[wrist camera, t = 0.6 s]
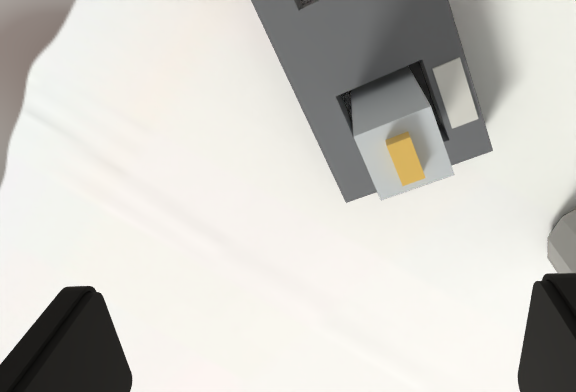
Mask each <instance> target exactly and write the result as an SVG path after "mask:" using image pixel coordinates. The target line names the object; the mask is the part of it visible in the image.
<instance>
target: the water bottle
mask: <svg viewBox="0 0 576 392" xmlns="http://www.w3.org/2000/svg"><path fill="white" fill-rule="evenodd" d="M547 258H548V259H549V261H550V262H551V264H552V265H553V267H554V268H555V270H556V271H557V273H576V209H575V210H573V211H571V212H569V213H568V214H566V215H564V216H563V217H562V218H561V219H560V220H559V222H558V223H557V225H556V226H555V227H554V229H553V230H552V232H551V233H550V234H549V236H548V256H547Z"/></svg>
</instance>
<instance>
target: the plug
mask: <svg viewBox="0 0 576 392" xmlns="http://www.w3.org/2000/svg"><path fill="white" fill-rule="evenodd" d="M351 104H352V121H353V137H354V139H355V142H356V144H357V146H358V149H359V151H360V153H361V155H362V158H363V160H364V162H365V165H366V167H367V169H368V172H369V174H370V176H371V179H372V181H373V183H374V186H375V188H376V190H377V193H378V195H379V197H380V200H384V199H387V198H389V197H392V196H395V195H398V194H401V193H404V192H407V191H410V190H412V189H415V188H418V187H421V186H424V185H427V184H430V183H433V182H435V181H438V180H441V179H444V178H447V177H450V176H453V175H454V172H453V169H452V166H451V163H450V160H449V157H448V154H447V151H446V148H445V146H444V143H443V140H442V137H441V134H440V131H439V128H438V125H437V122H436V120H435V117H434V114H433V111H432V108H431V105H430V104H429V102H428V100H427V98H426V97H425V95H424V93H423V91H422V90H421V88H420V86H419V84H418V83H417V81H416V79H415V77H414V76H413V74H412V72H411V70H410V68H409V67H408V66H406V67H403V68H401V69H399V70H396V71H394V72H392V73H389V74H387V75H385V76H382V77H380V78H378V79H375V80H373V81H371V82H368V83H366V84H364V85H361V86H359V87H357V88H354V89H352V90H351Z"/></svg>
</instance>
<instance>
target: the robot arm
mask: <svg viewBox="0 0 576 392" xmlns="http://www.w3.org/2000/svg"><path fill="white" fill-rule="evenodd" d="M518 385H519V389H520V392H576V273H554V274H545V275H544V277H543V279H542V281H536V282H535V283H534V285H533V290H532V296H531V301H530V307H529V313H528V319H527V324H526V330H525V336H524V341H523V347H522V353H521V359H520V364H519V370H518ZM131 386H132V374H131V371H130V368H129V365H128V363H127V360H126V357H125V355H124V352H123V349H122V346H121V344H120V341H119V338H118V336H117V333H116V330H115V328H114V325H113V322H112V319H111V317H110V314H109V311H108V309H107V306H106V303H105V301H104V298H103V296H102V294H101V293H99V292H96V290H95V289H94V288H93V287H91V286H75V287H65V288H63V289H62V290H61V291H60V292H59V294H58V295H57V296H56V297H55V299H54V300H53V301H52V302H51V303H50V305H49V306H48V307H47V308H46V310H45V311H44V312H43V313H42V314H41V316H40V317H39V318H38V319H37V320H36V322H35V323H34V324H33V325H32V327H31V328H30V329H29V330H28V331H27V333H26V334H25V335H24V336H23V338H22V339H21V340H20V341H19V342H18V344H17V345H16V346H15V347H14V349H13V350H12V351H11V352H10V353H9V355H8V356H7V357H6V358H5V360H4V361H3V362H2V363H1V364H0V392H130V390H131Z"/></svg>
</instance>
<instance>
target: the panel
mask: <svg viewBox="0 0 576 392" xmlns="http://www.w3.org/2000/svg"><path fill="white" fill-rule="evenodd" d="M251 1H252V3H253V5H254V7H255V10H256V12H257V14H258V16H259V18H260V20H261V22H262V25H263V27H264V29H265V31H266V33H267V35H268V37H269V39H270V42H271V44H272V46H273V48H274V50H275V52H276V54H277V57H278V59H279V61H280V63H281V65H282V67H283V69H284V71H285V74H286V76H287V78H288V80H289V82H290V84H291V86H292V89H293V91H294V93H295V95H296V97H297V99H298V101H299V103H300V106H301V108H302V110H303V112H304V114H305V116H306V118H307V121H308V123H309V125H310V127H311V129H312V131H313V133H314V135H315V138H316V140H317V142H318V144H319V146H320V148H321V150H322V153H323V155H324V157H325V159H326V161H327V163H328V165H329V167H330V170H331V172H332V174H333V176H334V178H335V180H336V182H337V185H338V187H339V189H340V191H341V193H342V195H343V197H344V199H345V202H346V203H347V202H350V201H353V200H356V199H358V198H361V197H364V196H367V195H370V194H373V193H375V192H377V190H376V188H375V186H374V183H373V181H372V179H371V176H370V174H369V172H368V169H367V167H366V165H365V162H364V160H363V158H362V155H361V153H360V151H359V149H358V146H357V144H356V142H355V139H354V137H353V123H352V120H351V118H350V116H349V113H348V111H347V108H346V106H345V104H344V101H343V99H342V97H341V94H343V93H345V92H347V91H350V90H352V89H354V88H357V87H359V86H361V85H364V84H366V83H368V82H371V81H373V80H375V79H378V78H380V77H382V76H385V75H387V74H389V73H392V72H394V71H396V70H399V69H401V68H403V67H406V66H408V65H410V64H413V63H415V62H417V61H419V62H420V65H421V68H422V71H423V74H424V77H425V80H426V83H427V86H428V89H429V92H430V95H431V97H432V100H433V103H434V106H435V109H436V112H437V115H438V118H439V121H440V125H438V128H439V131H440V134H441V137H442V140H443V143H444V146H445V148H446V151H447V154H448V157H449V160H450V163H451V165H454V164H457V163H460V162H463V161H465V160H468V159H471V158H474V157H477V156H480V155H482V154H485V153H488V152H491V151H493V149H492V146H491V142H490V139H489V136H488V132H487V129H486V126H485V122H484V119H483V115H482V112H481V109H480V105H479V102H478V99H477V95H476V92H475V89H474V85H473V82H472V79H471V75H470V72H469V69H468V65H467V62H466V59H465V55H464V52H463V48H462V45H461V42H460V38H459V35H458V32H457V28H456V25H455V22H454V18H453V15H452V12H451V8H450V5H449V2H448V0H312V1H310V2H308V3H306V4H304V5H302V3H301V1H300V0H251Z"/></svg>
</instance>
